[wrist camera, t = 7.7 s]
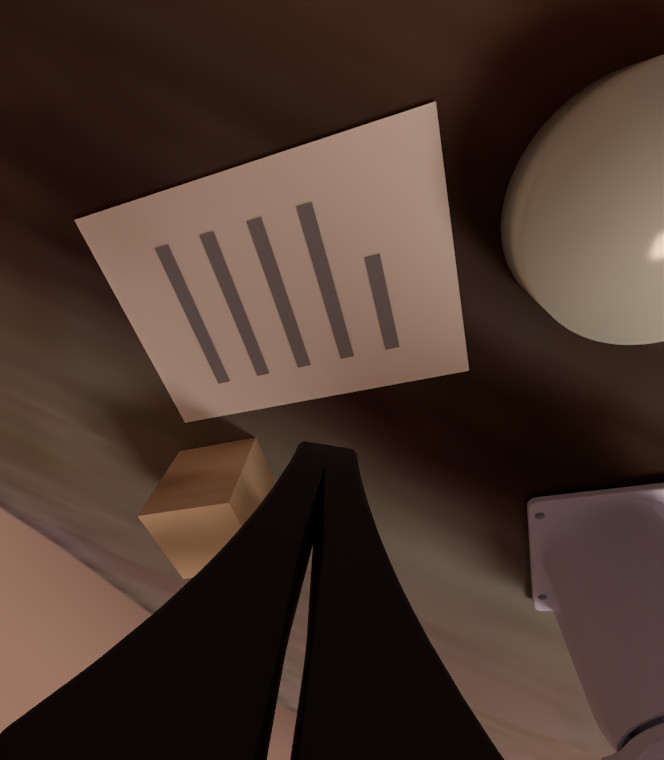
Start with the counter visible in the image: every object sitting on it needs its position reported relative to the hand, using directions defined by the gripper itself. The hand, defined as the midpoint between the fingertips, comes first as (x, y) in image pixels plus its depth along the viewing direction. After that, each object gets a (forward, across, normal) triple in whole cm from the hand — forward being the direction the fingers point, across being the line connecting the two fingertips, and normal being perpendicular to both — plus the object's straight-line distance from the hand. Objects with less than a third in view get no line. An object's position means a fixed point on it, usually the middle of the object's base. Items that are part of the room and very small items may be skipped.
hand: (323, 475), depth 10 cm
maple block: (+8, +5, +9) cm, 14 cm away
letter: (+8, +3, -1) cm, 9 cm away
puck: (+9, -9, -6) cm, 14 cm away
